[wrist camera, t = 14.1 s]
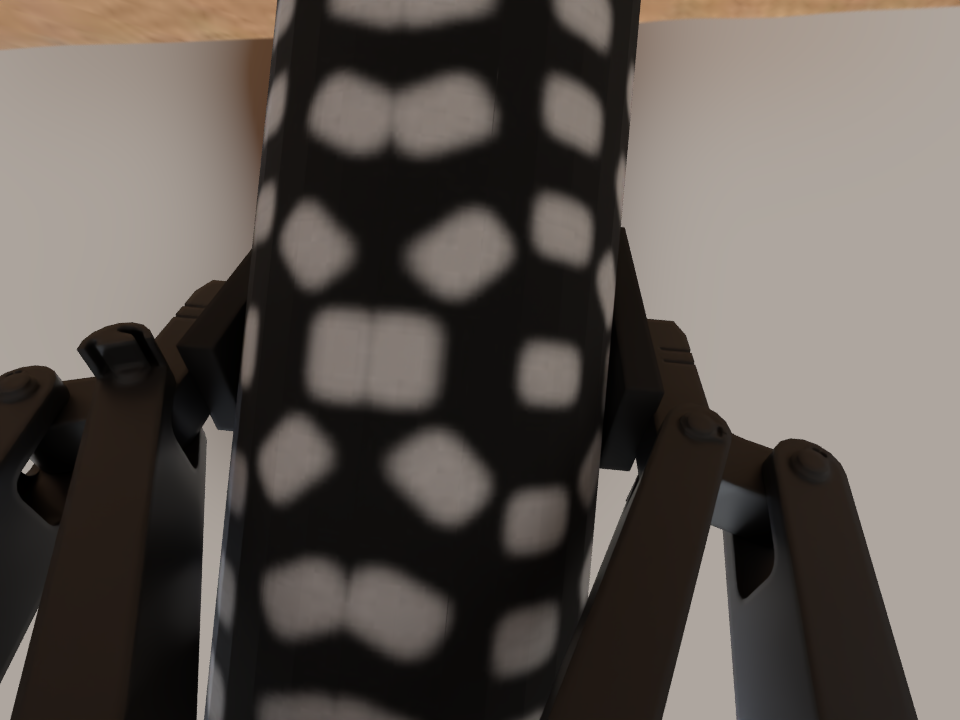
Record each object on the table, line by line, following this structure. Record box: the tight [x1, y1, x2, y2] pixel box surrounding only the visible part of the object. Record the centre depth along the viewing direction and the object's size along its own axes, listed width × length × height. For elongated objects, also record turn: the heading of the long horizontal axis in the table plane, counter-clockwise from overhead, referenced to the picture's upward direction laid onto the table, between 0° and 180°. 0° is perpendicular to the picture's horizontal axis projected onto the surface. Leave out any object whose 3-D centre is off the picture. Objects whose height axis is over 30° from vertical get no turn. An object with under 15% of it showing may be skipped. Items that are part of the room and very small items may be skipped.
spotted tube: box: [204, 0, 641, 720], centre depth 12 cm, size 8×8×20 cm
